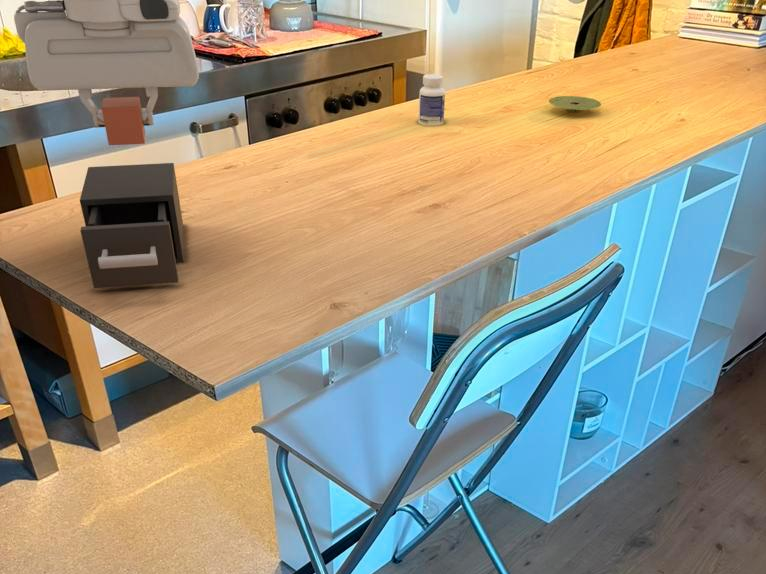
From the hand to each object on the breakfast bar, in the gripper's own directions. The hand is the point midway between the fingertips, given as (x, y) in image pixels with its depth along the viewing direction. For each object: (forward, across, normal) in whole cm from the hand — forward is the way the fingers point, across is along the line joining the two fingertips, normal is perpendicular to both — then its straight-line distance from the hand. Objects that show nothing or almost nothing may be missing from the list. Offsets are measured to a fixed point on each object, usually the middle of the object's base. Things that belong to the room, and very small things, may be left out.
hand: (125, 125), depth 104 cm
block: (+2, 0, 0) cm, 2 cm away
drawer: (+17, -1, -6) cm, 18 cm away
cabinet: (+18, -1, +4) cm, 18 cm away
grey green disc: (+18, +90, +63) cm, 111 cm away
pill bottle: (+18, +57, +60) cm, 84 cm away
